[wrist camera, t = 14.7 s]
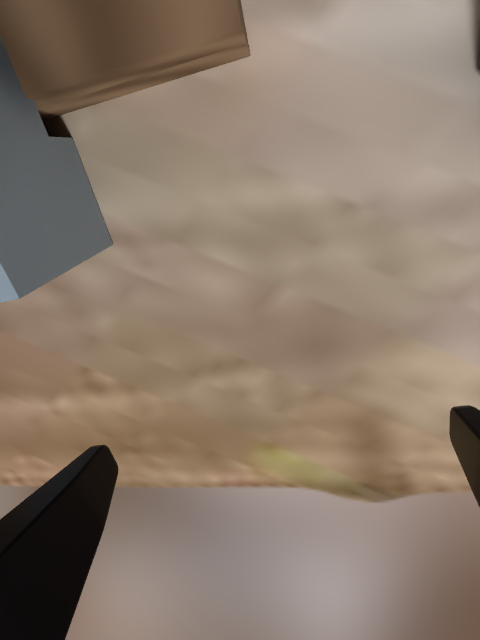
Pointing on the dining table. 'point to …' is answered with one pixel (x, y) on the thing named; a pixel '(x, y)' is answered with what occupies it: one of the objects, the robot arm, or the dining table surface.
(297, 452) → the dining table surface
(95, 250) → the blue long flat plate
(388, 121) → the dining table surface
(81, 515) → the robot arm
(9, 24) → the brown wooden bar
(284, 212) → the dining table surface
